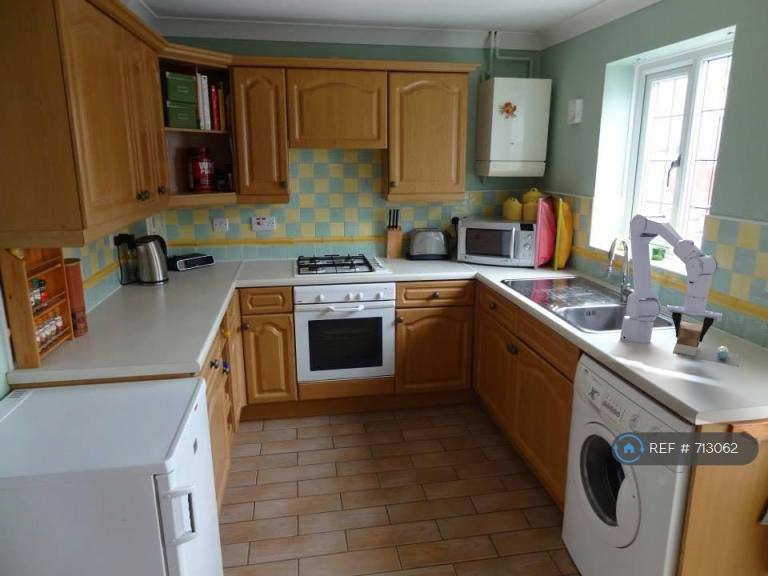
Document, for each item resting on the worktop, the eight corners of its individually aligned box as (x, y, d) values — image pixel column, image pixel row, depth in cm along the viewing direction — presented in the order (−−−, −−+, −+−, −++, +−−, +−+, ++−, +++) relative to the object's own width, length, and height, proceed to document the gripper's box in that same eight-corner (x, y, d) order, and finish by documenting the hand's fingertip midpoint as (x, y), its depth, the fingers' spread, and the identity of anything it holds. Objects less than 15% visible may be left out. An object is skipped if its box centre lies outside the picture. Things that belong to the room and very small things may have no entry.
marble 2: (716, 359, 167) (717, 350, 166) (716, 356, 169) (718, 347, 169) (727, 361, 165) (729, 352, 165) (727, 358, 168) (729, 349, 167)
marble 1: (716, 355, 170) (718, 346, 169) (716, 352, 172) (718, 344, 172) (727, 357, 168) (729, 348, 168) (727, 355, 171) (729, 346, 170)
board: (671, 356, 171) (672, 353, 171) (675, 346, 181) (676, 342, 181) (738, 369, 162) (738, 366, 162) (738, 358, 172) (739, 354, 171)
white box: (675, 352, 172) (677, 337, 171) (677, 344, 179) (680, 330, 178) (695, 356, 169) (697, 341, 168) (697, 348, 176) (699, 333, 175)
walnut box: (676, 343, 161) (679, 327, 160) (679, 336, 168) (682, 321, 167) (697, 347, 158) (700, 331, 157) (700, 340, 165) (702, 324, 164)
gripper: (667, 294, 160) (660, 337, 163) (724, 302, 152) (716, 347, 156) (670, 290, 166) (663, 331, 169) (725, 297, 158) (716, 340, 161)
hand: (688, 338), depth 163 cm, fingers closed on walnut box, 6 cm apart
